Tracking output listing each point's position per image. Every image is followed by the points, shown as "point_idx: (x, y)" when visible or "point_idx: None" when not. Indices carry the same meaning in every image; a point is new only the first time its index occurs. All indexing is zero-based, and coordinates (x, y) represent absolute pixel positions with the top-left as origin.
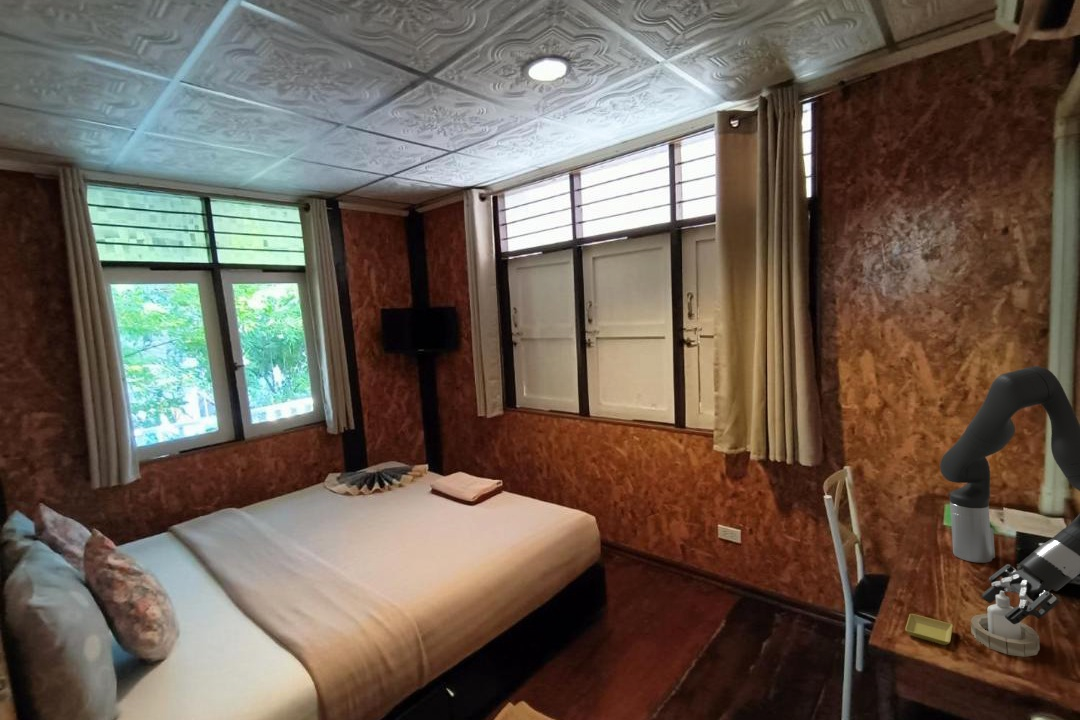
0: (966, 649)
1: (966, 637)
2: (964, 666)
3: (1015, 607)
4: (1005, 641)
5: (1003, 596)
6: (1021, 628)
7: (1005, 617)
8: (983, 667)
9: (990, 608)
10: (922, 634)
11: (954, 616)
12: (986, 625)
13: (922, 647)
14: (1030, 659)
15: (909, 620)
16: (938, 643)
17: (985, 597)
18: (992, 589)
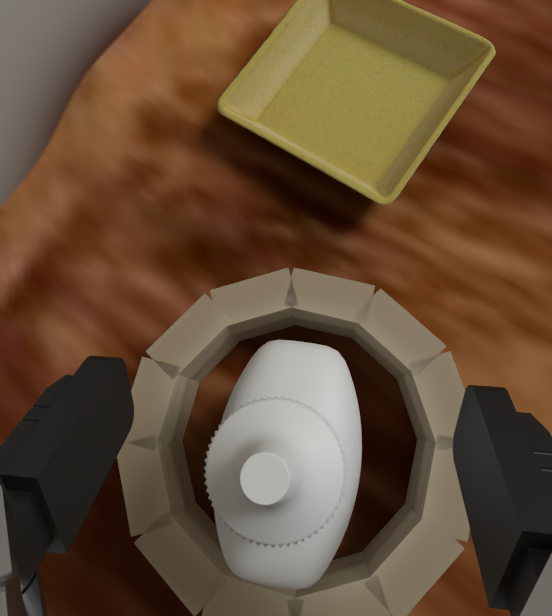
0: (217, 199)
1: (321, 256)
2: (96, 124)
3: (46, 456)
4: (147, 349)
5: (235, 461)
6: (322, 584)
7: (113, 357)
8: (84, 195)
9: (292, 346)
10: (337, 66)
11: (547, 315)
12: (414, 414)
13: (236, 27)
14: None
15: (422, 19)
16: (263, 101)
17: (472, 410)
18: (512, 501)
